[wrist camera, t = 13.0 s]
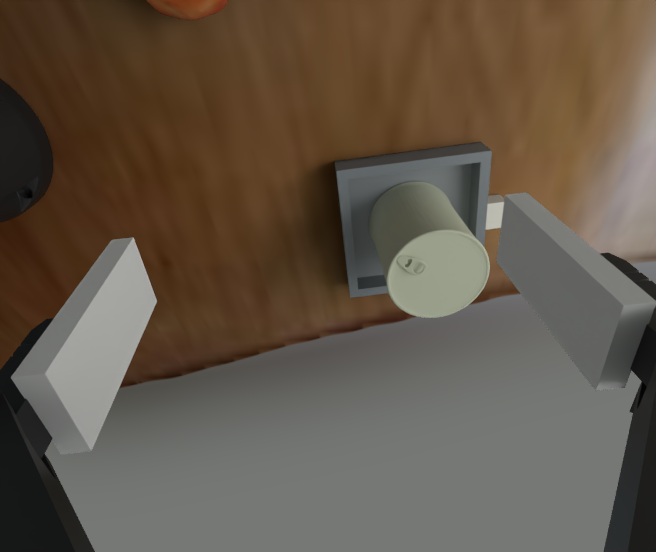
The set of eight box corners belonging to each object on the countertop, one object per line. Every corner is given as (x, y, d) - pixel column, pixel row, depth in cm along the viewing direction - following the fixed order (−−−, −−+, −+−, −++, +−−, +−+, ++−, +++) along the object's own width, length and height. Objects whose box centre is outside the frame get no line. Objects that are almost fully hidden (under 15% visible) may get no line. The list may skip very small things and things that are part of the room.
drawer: (347, 283, 53) (350, 297, 51) (334, 161, 45) (336, 171, 43) (492, 265, 53) (502, 278, 51) (504, 138, 45) (516, 147, 43)
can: (397, 165, 45) (425, 214, 35) (469, 203, 48) (514, 258, 38) (353, 238, 50) (367, 300, 39) (421, 269, 52) (451, 335, 42)
